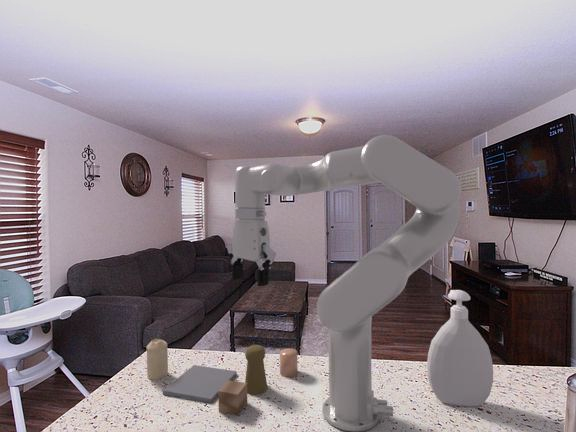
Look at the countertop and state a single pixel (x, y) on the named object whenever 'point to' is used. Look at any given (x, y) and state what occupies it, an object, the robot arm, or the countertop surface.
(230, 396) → the walnut block
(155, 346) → the candle
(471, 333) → the soap bottle
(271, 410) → the countertop surface
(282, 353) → the peach blob
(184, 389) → the slate tile
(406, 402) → the countertop surface
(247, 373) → the olive tall rounded piece
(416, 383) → the countertop surface
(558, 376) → the countertop surface
